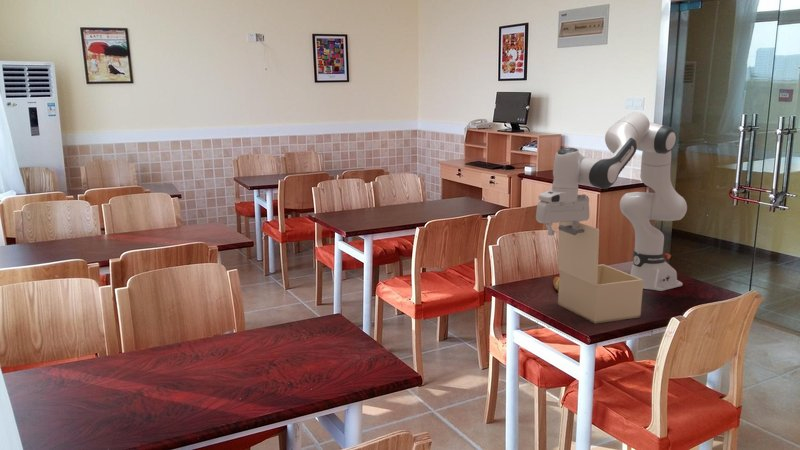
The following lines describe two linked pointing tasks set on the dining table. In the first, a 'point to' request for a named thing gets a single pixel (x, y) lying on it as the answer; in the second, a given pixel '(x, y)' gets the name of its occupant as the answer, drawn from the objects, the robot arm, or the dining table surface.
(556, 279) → the croissant
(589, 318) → the carton
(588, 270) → the flap
